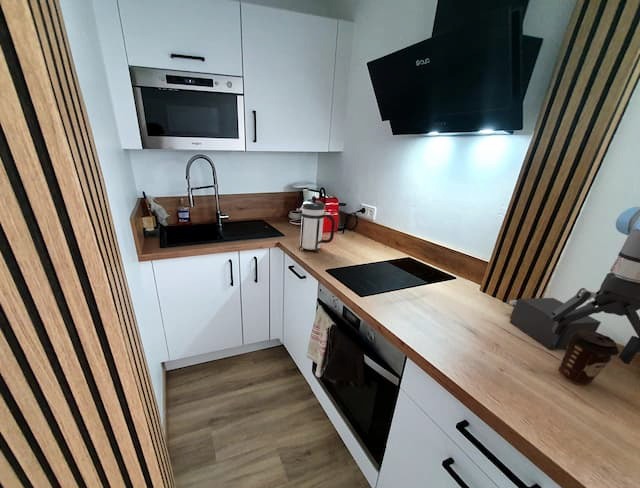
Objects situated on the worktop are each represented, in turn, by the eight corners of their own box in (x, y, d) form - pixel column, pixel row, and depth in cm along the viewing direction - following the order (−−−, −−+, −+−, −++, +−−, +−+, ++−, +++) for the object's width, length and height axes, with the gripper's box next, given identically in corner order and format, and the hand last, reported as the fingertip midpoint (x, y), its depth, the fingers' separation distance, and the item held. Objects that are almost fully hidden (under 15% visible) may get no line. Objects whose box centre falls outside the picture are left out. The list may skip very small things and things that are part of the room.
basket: (499, 311, 104) (507, 293, 101) (527, 311, 106) (536, 292, 102) (545, 342, 88) (555, 321, 85) (578, 341, 89) (589, 320, 86)
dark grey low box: (509, 322, 100) (519, 298, 96) (542, 321, 101) (553, 297, 97) (549, 349, 86) (562, 323, 83) (586, 348, 88) (601, 322, 84)
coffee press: (305, 255, 155) (308, 199, 143) (293, 246, 169) (295, 194, 156) (332, 252, 161) (338, 198, 149) (319, 243, 174) (323, 193, 162)
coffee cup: (600, 381, 75) (626, 341, 70) (592, 395, 71) (619, 353, 65) (557, 361, 82) (578, 323, 76) (548, 373, 77) (569, 334, 72)
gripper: (698, 283, 63) (645, 358, 71) (555, 261, 72) (523, 330, 81) (729, 297, 57) (666, 378, 65) (568, 272, 66) (532, 346, 74)
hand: (587, 352), depth 73 cm, fingers open, 13 cm apart
